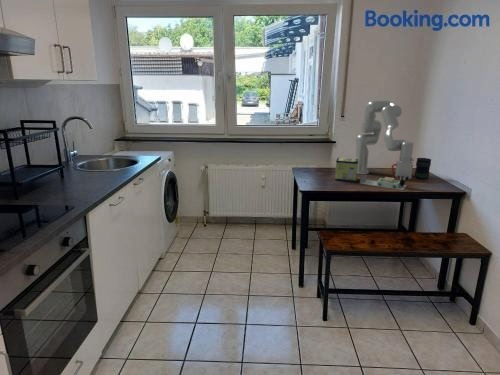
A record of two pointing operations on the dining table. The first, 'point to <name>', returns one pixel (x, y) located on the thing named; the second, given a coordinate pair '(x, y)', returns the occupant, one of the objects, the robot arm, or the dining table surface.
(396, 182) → the cart
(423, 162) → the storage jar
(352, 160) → the protein box
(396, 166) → the mug
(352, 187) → the dining table surface
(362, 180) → the track
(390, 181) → the beige square block
